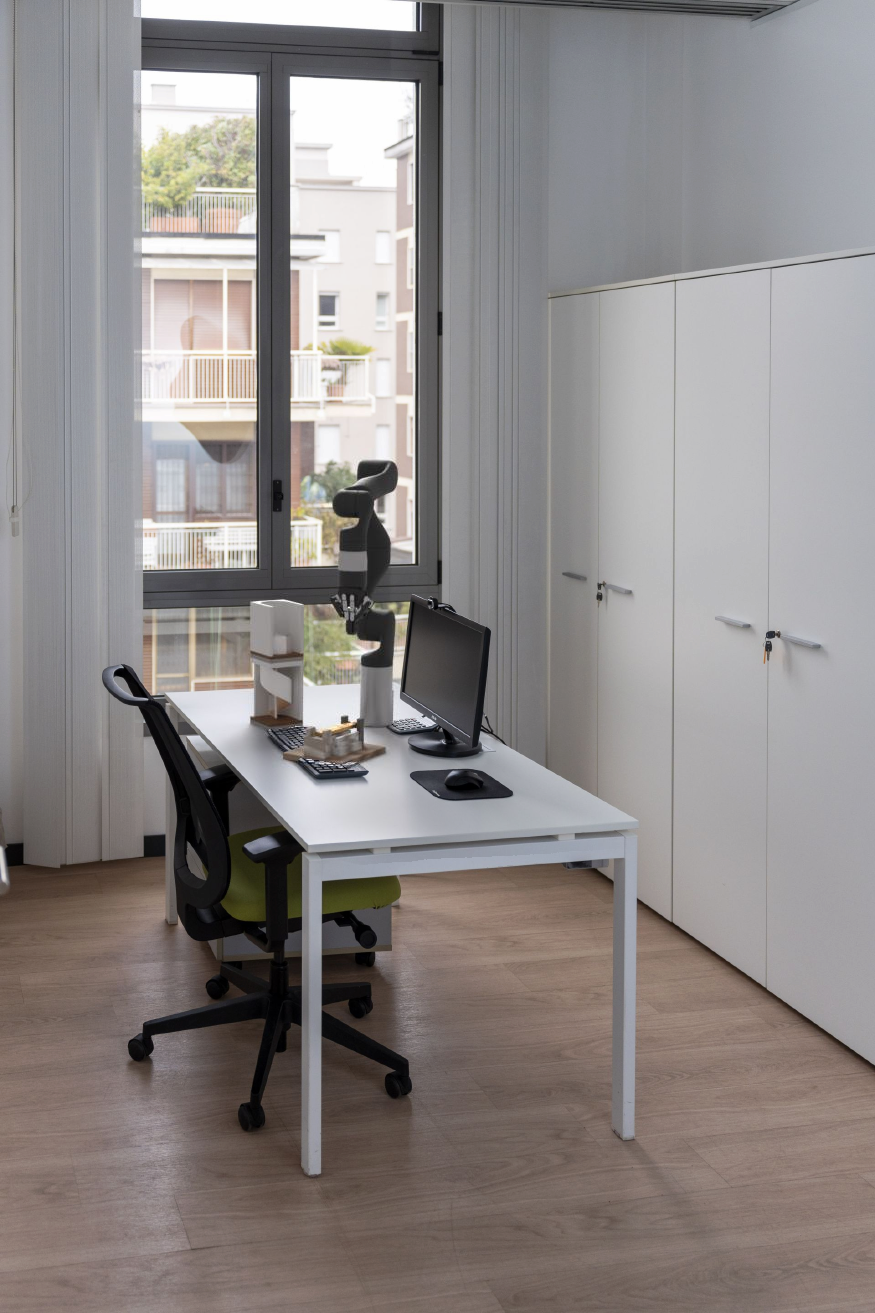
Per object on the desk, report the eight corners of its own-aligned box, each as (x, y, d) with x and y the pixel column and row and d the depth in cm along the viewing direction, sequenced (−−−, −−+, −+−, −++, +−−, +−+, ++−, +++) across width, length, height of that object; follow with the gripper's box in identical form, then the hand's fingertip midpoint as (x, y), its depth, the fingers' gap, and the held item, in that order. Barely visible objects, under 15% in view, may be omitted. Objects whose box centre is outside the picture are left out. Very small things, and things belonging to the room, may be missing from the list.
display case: (250, 723, 378) (250, 601, 372) (282, 719, 384) (283, 599, 378) (269, 731, 369) (270, 606, 363) (302, 727, 375) (303, 604, 369)
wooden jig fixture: (329, 742, 358) (329, 711, 356) (385, 752, 349) (386, 720, 348) (282, 758, 340) (283, 725, 338) (341, 769, 331) (341, 735, 330)
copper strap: (349, 726, 352) (349, 720, 351) (358, 727, 350) (358, 721, 350) (314, 736, 338) (315, 730, 338) (324, 738, 337) (324, 732, 336)
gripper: (382, 568, 342) (380, 635, 345) (339, 565, 348) (338, 630, 351) (366, 571, 336) (365, 638, 339) (323, 567, 342) (322, 633, 345)
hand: (351, 634), depth 345 cm, fingers closed
